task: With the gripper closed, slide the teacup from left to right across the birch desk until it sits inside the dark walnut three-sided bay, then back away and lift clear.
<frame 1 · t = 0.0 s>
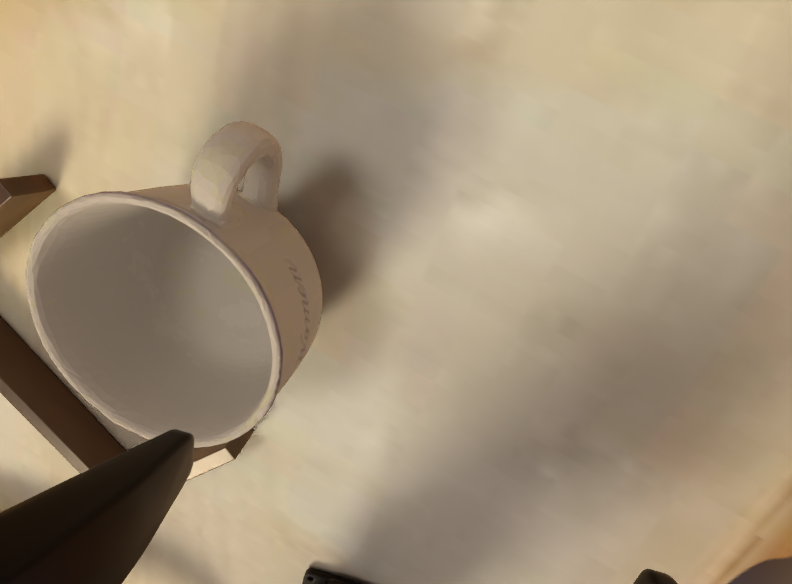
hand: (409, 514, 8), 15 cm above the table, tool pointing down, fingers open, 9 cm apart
bay: (126, 335, 26), on the table
teacup: (260, 250, 23), on the table
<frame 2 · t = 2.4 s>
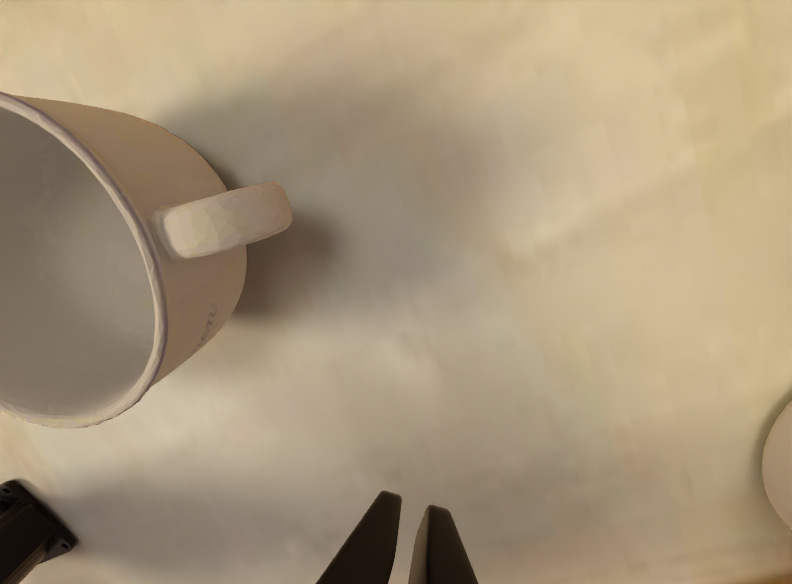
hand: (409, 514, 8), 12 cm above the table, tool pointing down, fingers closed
teacup: (198, 222, 20), on the table
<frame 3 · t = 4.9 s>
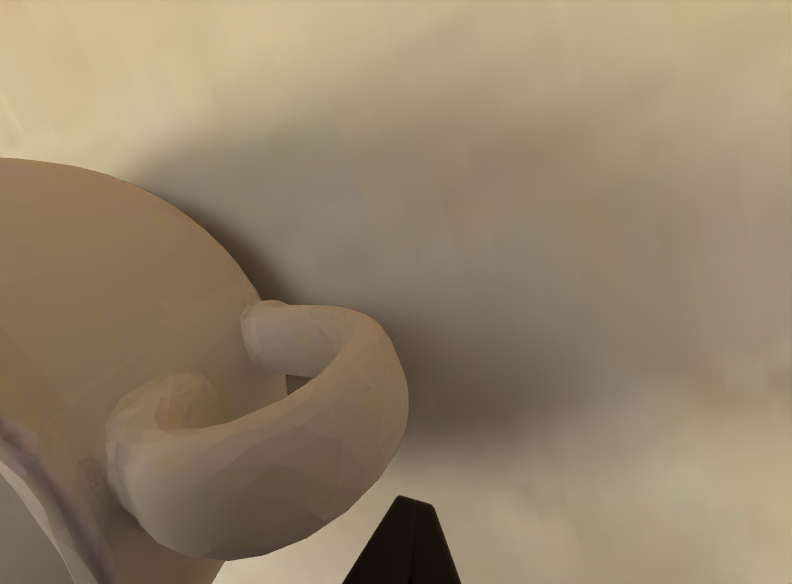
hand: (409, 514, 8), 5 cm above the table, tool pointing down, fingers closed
teacup: (205, 319, 13), on the table, touching gripper
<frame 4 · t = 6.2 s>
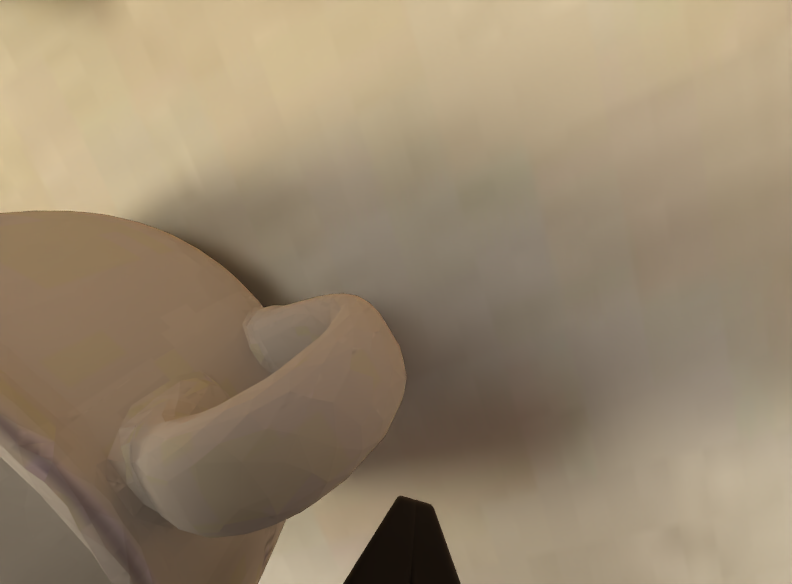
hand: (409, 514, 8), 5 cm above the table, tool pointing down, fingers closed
teacup: (219, 341, 13), on the table, touching gripper
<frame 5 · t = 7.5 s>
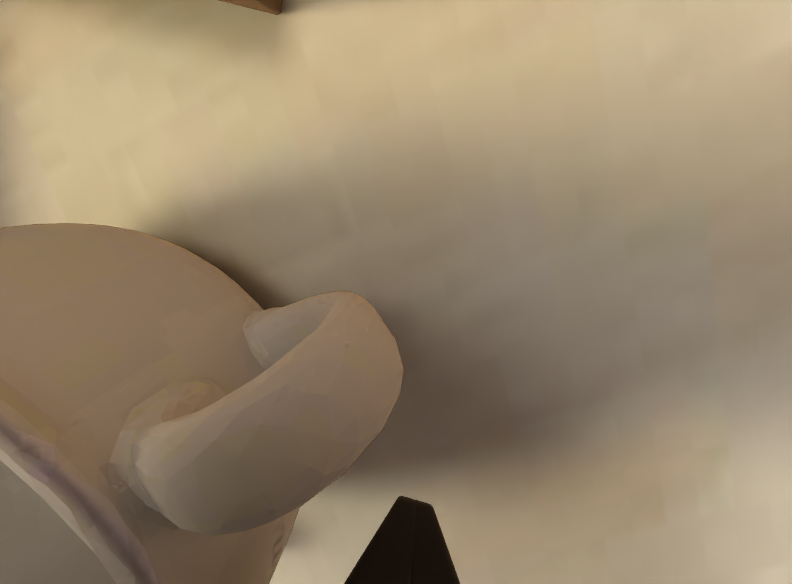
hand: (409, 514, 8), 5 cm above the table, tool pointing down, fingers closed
bay: (152, 311, 13), on the table
teacup: (223, 346, 13), on the table, touching gripper
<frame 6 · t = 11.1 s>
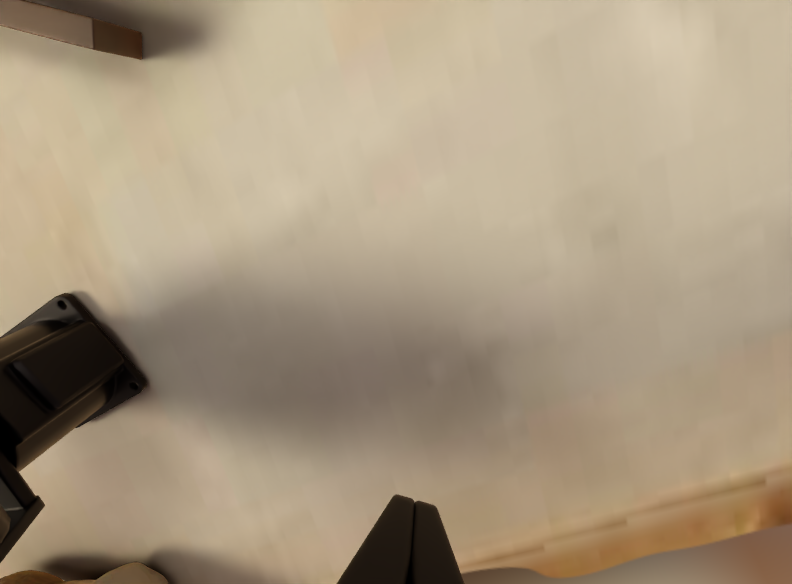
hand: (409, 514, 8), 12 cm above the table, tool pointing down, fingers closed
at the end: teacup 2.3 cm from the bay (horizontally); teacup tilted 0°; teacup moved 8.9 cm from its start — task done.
